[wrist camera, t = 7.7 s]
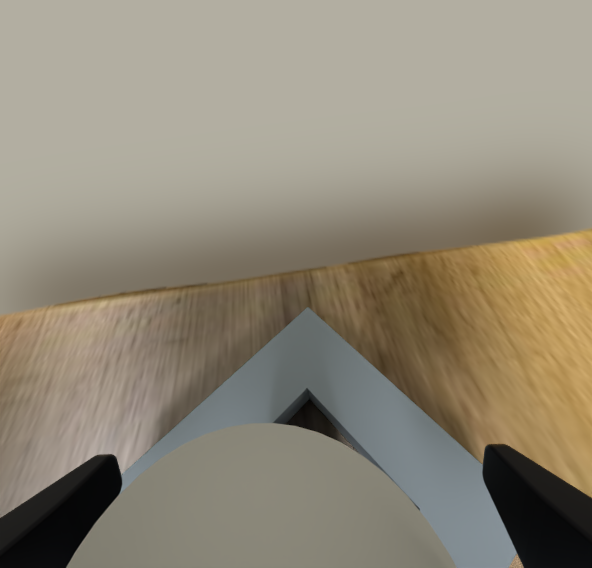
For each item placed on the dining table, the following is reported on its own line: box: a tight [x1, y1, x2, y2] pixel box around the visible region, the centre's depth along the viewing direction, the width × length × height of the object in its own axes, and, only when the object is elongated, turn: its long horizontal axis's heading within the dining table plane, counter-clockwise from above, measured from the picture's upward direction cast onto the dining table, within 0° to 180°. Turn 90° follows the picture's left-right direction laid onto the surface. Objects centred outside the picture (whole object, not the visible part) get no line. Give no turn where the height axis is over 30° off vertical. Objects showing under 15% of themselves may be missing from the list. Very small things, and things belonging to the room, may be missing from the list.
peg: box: [66, 423, 457, 568], centre depth 7 cm, size 4×4×12 cm
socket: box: [119, 307, 517, 568], centre depth 12 cm, size 11×11×3 cm
